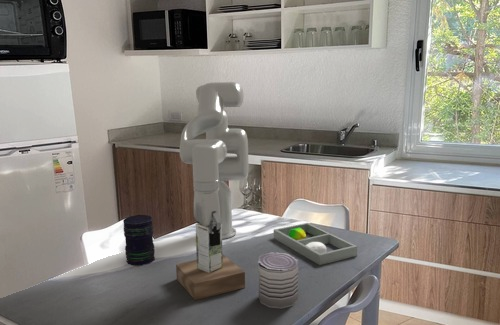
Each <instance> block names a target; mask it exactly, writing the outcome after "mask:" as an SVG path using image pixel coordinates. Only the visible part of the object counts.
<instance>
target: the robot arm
mask: <svg viewBox="0 0 500 325" xmlns="http://www.w3.org/2000/svg"><path fill="white" fill-rule="evenodd" d="M244 95H245V94H244V88H243V87H242V85H241V84H240V83H239V82H233V81H226V82H224V81H223V82H222V81H221V82H220V81H218V82H208V83H205V84H201V85H199V86H198V87H197V88H196V89H195V96H196V99H197V103H198V106H197V115H195V116H194V117H193V118H191V119H190V121H189V122H188V123H186V124H185V125H184V127H183V129H182V131H181V136H180V144H179V157H180V160H181V161H182V162H183V163H185V164H187V165H192V181H193V192H194V193H193V217H194V220H195V221H196V224H198V223H201V224H202V225H204V226H207V225H208V226H209V229H210V233H209V241H210V246H211V247H212V246H216V245H220V229H221V224H222V240H224V239H230V238H232V237H235V235H236V234H237V230H236V229H235V228H234V227H233V216H232V215H233V213H232V210H233V208H232V191H231V188H230V187H229V185H228V184H227V183H226V182H227V181H229V182H230V181H233V182H234V181H245V180H246V179H248V176H249V167H250V166H249V141H248V140H249V139H248V135H247V132H246V131H245V130H244V128H243V129H242V128H229V125H228V123H229V120H228V118H229V117H228V114H227V113H226V111H225V109H224V108H240V107H241V106H242V105H243V103H244V99H245V98H244ZM202 134H205V136H206V137H205V138H204V139H202V138H200V139H197V136H200V135H202ZM195 138H196V139H195ZM227 154H235V156H234V155H232V156H231V155H229V156H227ZM210 222H213V223H210ZM214 225H215V226H214ZM212 226H214V228H212Z"/></svg>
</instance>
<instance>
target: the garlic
mask: <svg viewBox="0 0 500 325" xmlns="http://www.w3.org/2000/svg"><path fill="white" fill-rule="evenodd" d="M306 246H307V247H309V248H311V249H313V250H315V251H317V252H318V253H320V254H321V253H325V252H327V246H326V244H323V243H321V242H311V243H308V244H307V245H306Z"/></svg>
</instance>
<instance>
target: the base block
mask: <svg viewBox="0 0 500 325" xmlns="http://www.w3.org/2000/svg"><path fill="white" fill-rule="evenodd" d="M222 256H223V267H222V268H220V269H218V270H215V271H213V272H211V273H208V272H205V271H203V270H200V269H198V268H197V259H194V260H189V261H185V262H180V263H179V262H178V263H176V264H175V270H176V271H175V272H176V280H177V281H178V282H179V283H180V285H181V286H182V287H183V288H184V289H185V290H186V291H187V293H188V294H189V295H190V296H191V297H192V298H193V300H194V301H198V300H202V299H206V298H209V297H213V296H218V295H221V294H226V293H229V292H233V291H236V290H240V289H245V288H246V272H245V271H244V270H243V269H242V268H241V267H239V265H237V264H236V263H234V262H233V261H232V260H231V259H229V258H228V257H227V256H226V255H224V253H222Z"/></svg>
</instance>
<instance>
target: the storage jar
mask: <svg viewBox="0 0 500 325" xmlns="http://www.w3.org/2000/svg"><path fill="white" fill-rule="evenodd" d="M122 222H123V235H124V238H125V247H124V250H125V251H124V252H125V254H124V255H125V259H126V264H127V265H128V266H129V265H130V266H134V267H140V266H146V265H148V264H151V263H153V262H154V261H155V259H156V258H155V243H154V238H153V235H154V224H153V216H151V215H147V214H136V215H135V214H134V215H131V216H128V217H125V218H124V219H123V220H122Z"/></svg>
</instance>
